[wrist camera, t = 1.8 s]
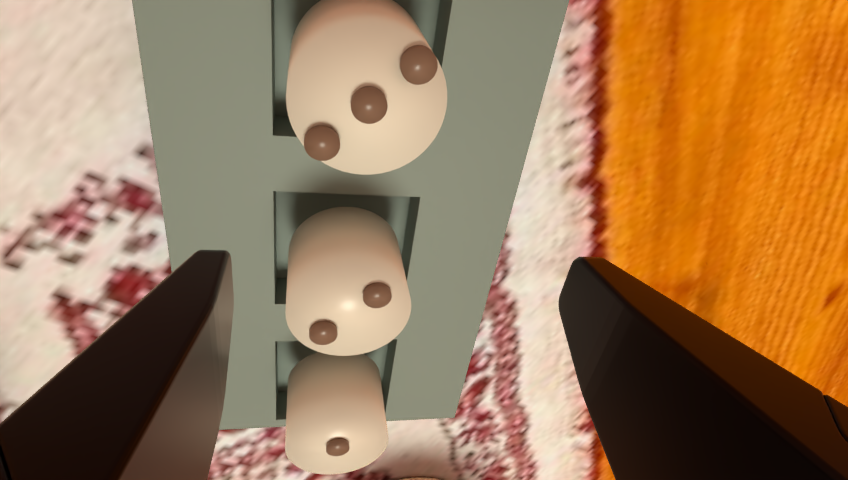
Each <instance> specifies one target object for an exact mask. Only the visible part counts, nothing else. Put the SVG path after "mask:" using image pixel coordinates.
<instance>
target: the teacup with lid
mask: <svg viewBox="0 0 848 480" xmlns="http://www.w3.org/2000/svg"><path fill="white" fill-rule="evenodd" d="M399 480H439V479H434V478H406V479H399Z"/></svg>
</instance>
